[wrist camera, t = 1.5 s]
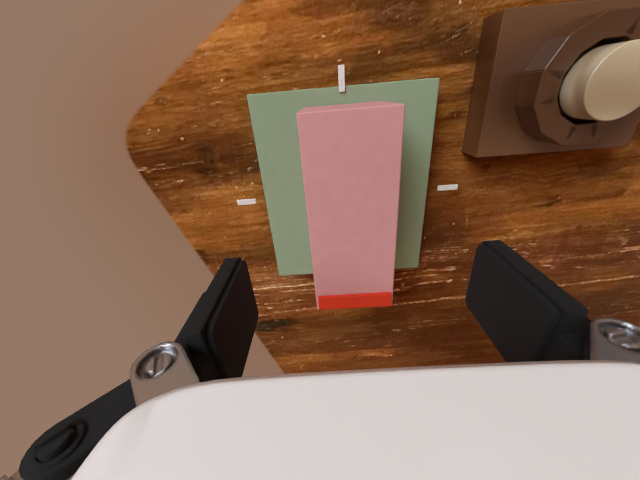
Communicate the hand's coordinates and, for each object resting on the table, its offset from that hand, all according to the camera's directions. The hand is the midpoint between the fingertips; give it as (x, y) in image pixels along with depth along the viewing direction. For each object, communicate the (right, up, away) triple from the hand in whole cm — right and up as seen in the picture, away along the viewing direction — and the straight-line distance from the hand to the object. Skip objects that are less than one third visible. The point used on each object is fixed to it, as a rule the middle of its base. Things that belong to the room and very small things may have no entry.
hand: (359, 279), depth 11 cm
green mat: (0, +6, +11) cm, 12 cm away
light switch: (+14, +12, +7) cm, 20 cm away
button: (+14, +10, +4) cm, 18 cm away
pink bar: (0, +5, +9) cm, 10 cm away
